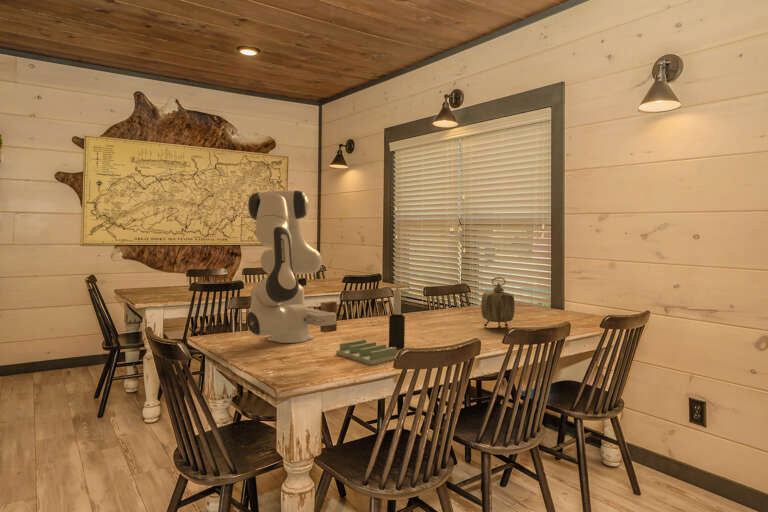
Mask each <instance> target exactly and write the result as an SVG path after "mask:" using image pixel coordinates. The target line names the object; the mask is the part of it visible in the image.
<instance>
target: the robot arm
mask: <svg viewBox="0 0 768 512" xmlns="http://www.w3.org/2000/svg"><path fill="white" fill-rule="evenodd" d="M309 203H310V202H309V199H308V197H307V195H306V193H305V192H304V191H303V190H302V191H300V190H282V189H281V190H280V189H279V190H274V191H273V190H272V191H263V192H261V191H258V192H255V193H252V194H251V195H250V196H249V198H248V202H247V210H248V213H249V216H250V217H251V218H252V219H253V220H255V235H256V239H257V241H258V242H259V243H260V244H261V245H262V246H264V247H267V248H269V249H265V250H264V251H263V253H262V254H261V256H260V259H259V260H260V262H259V263H260V265H261V269H262V270H263V271H264V272H265V273H267V274H268V275H267V276H266V277H264V279H262V280H259V282H258V283H257V284H255V285H254V286H253V287H252V289H251V292H250V300H251V303H250V308H249V311H248V312H247V314H246V324H247V328H248V329H249V330H250V332H251V333H253V334H254V335H256V336H265V337H266V336H269V337H268V338H267V341H270V342H275V343H276V342H277V343H282V344H284V343H285V344H293V343H302V342H303V343H304V342H306V341H309V340H314V335H312V334H310V325H311V326H314V327H320V326H327V325H334V324H336V314H335V312H326V311H322V310H321V309H316V308H312V307H306V306H305V289H304V287H303V285H302V284H300V283H299V279H298V277H297V275H310V274H315V273H318V272H319V270H320V269H321V267H322V264H323V259H322V255H321V254H320V252H319V251H318V250H317V249H315V248H313V247H312V246H311V245H309V243H307V242H306V240H305V239H304V236H303V234H302V230H301V224H300V219H303V218H305V217H306V216H307V215H308V211H309V208H310V207H309V206H310V205H309Z"/></svg>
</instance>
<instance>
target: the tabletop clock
mask: <svg viewBox="0 0 768 512" xmlns="http://www.w3.org/2000/svg"><path fill="white" fill-rule="evenodd" d="M496 279H497V280H502V281H504V283H502V284H500V282H497V284H496V283H494V280H496ZM491 284H492V285H493V286H495V287H494V288H493V289H492V290H491V291H490V290H489V291H485V292H483V293H482V297H481V304H480V307H481V311H480V313H481V315H482V318H483V319H484V320H487V321H486V323H484V324H483V327H484V326H487V327H488V324H489V323H490V322H491V323H498V325H497V329H498V328H501V329H502V326H501V323H504V327H505V326H507V327H508V326H509V324H508V322H511V321H513V319H514V317H515V309H516V306H515V305H516V304H515V297H514V295H513V294H511V293H510V292H505V291H504V288H503V287H502V286H504V285H505V284H506V280H505V278H504V277H501V276H499V277H494V278H493V279H492V281H491Z"/></svg>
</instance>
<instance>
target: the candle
mask: <svg viewBox="0 0 768 512" xmlns="http://www.w3.org/2000/svg"><path fill="white" fill-rule="evenodd" d="M401 309H402V293H401V292H400V289H399V285H398V284H397V285H396V288H395V291H394V292H393V313H391V314H390V315H388V316H389V317H388V348H389V347H397V348H400V349H402V348H401V347H404V348H405V334H406V330H405V328H406V326H405V325H406V324H405V322H406V321H405V320H406V319H405V318H406V317H405V315H404V314H403V313H401V311H402V310H401Z"/></svg>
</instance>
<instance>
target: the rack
mask: <svg viewBox="0 0 768 512" xmlns="http://www.w3.org/2000/svg"><path fill="white" fill-rule="evenodd" d="M335 351H336V353H335V354H336V355H338V356H342V357H345V358H347V357H348V359H350V358H351V359H350V360H354V359H355V360H354V361H357V360H358V361H357V362H360V361H361V362H360V363H363V362H364V364H368V365H370V364H371V365H370V366H373V365H372V364H374V365H378V364H381V362H382V363H385V361H387V362H390V361H389V360H391V361H394V360H393V359H395V357H396V355H397V354H398V349H397V347H392V348H389V347H388V348H387V344H383V343H382V344H378V345H377V341H370V342H367V339H365V338H363V339H358V340H353V341H346V342H342V343H339V349H336V350H335ZM395 360H396V359H395ZM377 363H378V364H377Z"/></svg>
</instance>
